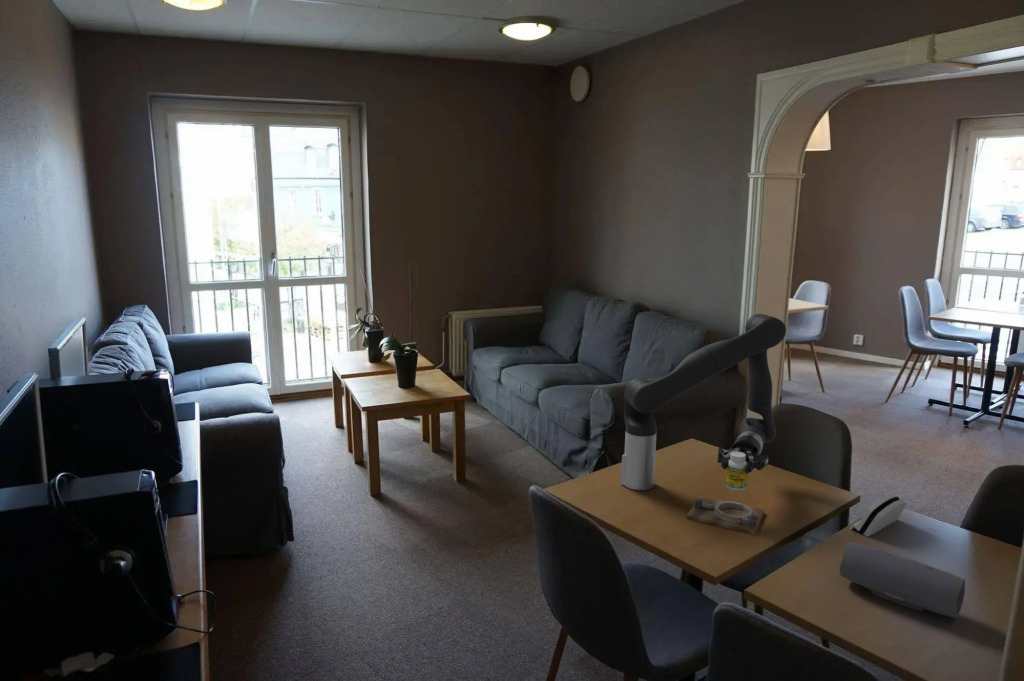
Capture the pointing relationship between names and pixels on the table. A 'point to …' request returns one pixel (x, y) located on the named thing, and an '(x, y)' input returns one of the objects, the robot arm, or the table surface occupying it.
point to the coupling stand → (726, 514)
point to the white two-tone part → (880, 515)
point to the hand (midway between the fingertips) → (735, 468)
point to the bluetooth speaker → (903, 580)
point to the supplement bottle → (736, 471)
